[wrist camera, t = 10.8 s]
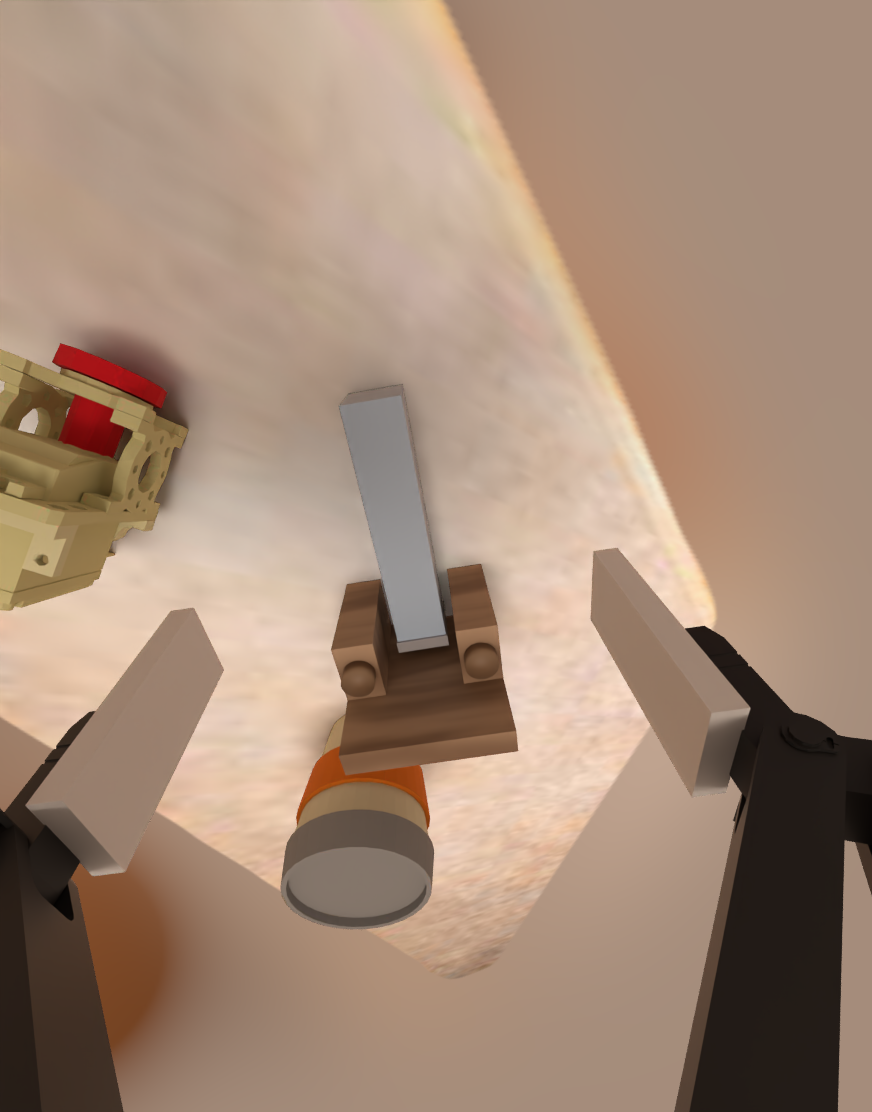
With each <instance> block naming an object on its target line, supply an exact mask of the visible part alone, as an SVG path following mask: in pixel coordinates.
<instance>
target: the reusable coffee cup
mask: <svg viewBox="0 0 872 1112" xmlns="http://www.w3.org/2000/svg"><path fill="white" fill-rule="evenodd" d="M344 720H345V715H344V716H343V717H341V718H340V719H339V720H338V721H337V722H336V723H335V724H334V726H333V728H332V730H331V733H330V735H329V738H328V741H327V744H326V747H325V749H324V752H323V755H322V757H321V758H320V759H319V760H318V761H317V763H316V764H315V766H314V768H313V770H312V773H311V776H310V778H309V781H308V784H307V787H306V789H305V792H304V795H303V797H302V800H301V803H300V806H299V808H298V812H297V817H296V820H297V828H296V831H295V832H294V833H293V834H292V835H291V837H290V839H289V841H288V842H287V846H286V851H285V858H284V865H283V873H282V881H281V894H282V897H283V899H284V901H285V903H286V904H287V905H288V907H290V909H291V910H292V911H294V912H295V913H297V914H298V915H299V916H301V917H303V918H305V919H307V920H309V921H311V922H314V923H317V924H320V925H324V926H329V927H334V928H342V929H370V928H378V927H383V926H387V925H391V924H394V923H397V922H400V921H403V920H405V919H406V918H408V917H410V916H412V915H414V914H415V913H416V912H418V911H419V910H421V909H422V907H423V906H424V905H425V904H426V903H427V902H428V900H429V897H430V895H431V890H432V877H433V861H434V848H433V844H432V841H431V840H430V838H429V836H428V831H427V830H428V827H429V823H430V815H429V809H428V803H427V796H426V790H425V784H424V778H423V773H422V769H421V767H420V765H416V766H409V767H401V768H394V769H387V770H380V771H373V772H366V773H359V774H352V775H345V772H344V769H343V767H342V764H341V761H340V759H339V750H340V744H341V738H342V732H343V726H344Z"/></svg>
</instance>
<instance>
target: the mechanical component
mask: <svg viewBox="0 0 872 1112" xmlns="http://www.w3.org/2000/svg"><path fill="white" fill-rule="evenodd" d="M52 362H53V363H54V364H56V365H57V366H59V367H61V371H60V374H59V373H56V372H54V371H52V370H49V369H47V368H45V367H42V366H40V365H38V364H35V363H33V362H31V361H29V360H26V359H24V358H21V357H19V356H16V355H14V354H11V353H9V352H6V351H4V350H1V349H0V364H1V365H0V380H2V381H4V382H5V385H4V390H3V391H2V392H1V393H0V610H7V611H9V610H13V608H14V606H16V607H20V608H21V607H25V606H28V605H31V604H34V603H37V602H41V601H44V600H47V599H50V598H54V597H57V596H60V595H63V594H66V593H70V592H73V591H76V590H79V589H83V588H86V587H89V586H91V585H92V584H93V582H94V580H96V579H99V577H100V574H101V569H102V568H103V566H104V563H105V560H106V557H110V556H114V555H115V553H111V552H109V549H110V547H111V544H112V541H116V540H118V539H120V538H122V537H124V536H125V535H126V533H127V531H128V530H129V529H131V528H132V527H133V528H136V529H139V530H142V531H149V530H152V528H153V526H154V523H155V519H156V517H157V514H158V509H159V506H160V503H157V502H154V500H155V497H156V495H157V493H158V491H159V489H160V487H161V485H162V483H163V481H164V479H165V477H166V475H167V471H168V468H169V465H170V461H171V455H172V451H173V449H174V447H177V448H180V449H181V447H182V444H183V441H184V439H185V438H186V435H187V432H188V429H186V428H185V427H183V426H180V425H178V424H175V423H173V422H171V421H168V420H166V419H164V418H161V417H159V416H157V415H156V412H155V411H153V406H154V407H157V408H162V405H163V402H164V400H165V397H166V394H167V392H166V391H165V390H164V389H163V388H161V387H160V386H158V385H156V384H154V383H152V382H151V381H149V380H147V379H145V378H143V377H141V376H139V375H137V374H135V373H132V372H130V371H128V370H126V369H124V368H122V367H120V366H117V365H115V364H113V363H111V362H108V361H106V360H104V359H102V358H99V357H97V356H94V355H92V354H89V353H87V352H84V351H82V350H79V349H77V348H74V347H70V346H67V345H64V344H61V343H60V345H59V348H58V350H57V352H56V354H55V357H54V359H53V361H52ZM3 365H4V366H3ZM5 366H6V367H5ZM10 368H11V369H10ZM30 376H31V377H30ZM35 378H36V379H35ZM37 379H38V380H37ZM39 380H41V381H39ZM42 381H43V382H42ZM44 382H45V383H48V384H50V385H52V386H54V387H57V388H59V389H60V390H58V389H54V388H53V387H52V386H50V385H47V384H45V383H44ZM61 390H62V391H61ZM63 391H64V392H63ZM68 393H69V394H68ZM69 407H70V409H69V412H68V415H67V418H66V411H67V409H68V408H69ZM34 408H36V410H37V411H38V420H39V422H38V425H37V428H36V431H35V434H31V433H27V432H23V431H19V430H18V428H19V426H20V423H21V420H22V418H23V417H24V416H25V415H27V414H28V413H29V412H30V411H31V410H32V409H34ZM124 428H127V429H130V430H132V431H133V434H132V438H131V439H130V441H129V442H128V444H127V445H126V447H125V449H124V451H123V453H122V455H121V457H120V459H119V461H118V460H115V458H114V454H115V452H116V449H117V447H118V444H119V441H120V439H121V436H122V433H123V431H124ZM183 438H184V439H183ZM149 455H150V463H149V466H148V469H147V472H146V474H145V476H144V478H143V479H142V481H141V482H140V484H139V485H138V479H139V476H140V472H141V469H142V466H143V464H144V463H145V461H146V460H147V458H148V457H149Z"/></svg>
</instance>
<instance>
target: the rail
mask: <svg viewBox="0 0 872 1112" xmlns="http://www.w3.org/2000/svg"><path fill="white" fill-rule="evenodd" d="M339 409H340V413H341V417H342V421H343V425H344V429H345V433H346V437H347V441H348V445H349V449H350V453H351V457H352V461H353V465H354V469H355V473H356V477H357V481H358V485H359V489H360V493H361V497H362V501H363V505H364V509H365V513H366V517H367V521H368V525H369V529H370V533H371V537H372V541H373V545H374V549H375V553H376V557H377V561H378V565H379V569H380V573H381V576H382V580H383V584H384V588H385V592H386V596H387V600H388V604H389V608H390V612H391V616H392V620H393V624H394V628H395V632H396V636H397V647H398V651H399V653H401V652H408V651H414V650H421V649H427V648H434V647H440V646H446V645H449V641H448V632H447V623H446V613H445V606H444V601H442V596H441V591H440V585H439V580H438V574H437V569H436V563H435V558H434V552H433V547H432V542H431V536H430V531H429V525H428V520H427V514H426V509H425V504H424V498H423V493H422V487H421V482H420V476H419V471H418V466H417V460H416V455H415V449H414V444H413V438H412V433H411V427H410V422H409V417H408V411H407V406H406V400H405V395H404V389H403V384H401V385H395V386H390V387H384V388H378V389H373V390H367V391H361V392H356V393H350V394H348V395H347V396H346V398H345V399H344V400H343V401H342V403H341V404H340V405H339Z"/></svg>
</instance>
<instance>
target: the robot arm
mask: <svg viewBox="0 0 872 1112" xmlns="http://www.w3.org/2000/svg"><path fill="white" fill-rule="evenodd" d="M591 621H592V622H593V624H594V626H595V628H596V629H597V631H598V633H599V635H600V636H601V638H602V640H603V642H604V644H605V645H606V647H607V649H608V651H609V652H610V654H611V656H612V658H613V659H614V661H615V663H616V665H617V666H618V668H619V670H620V672H621V673H622V675H623V677H624V679H625V681H626V682H627V684H628V686H629V688H630V689H631V691H632V693H633V695H634V696H635V698H636V700H637V702H638V703H639V705H640V707H641V709H642V710H643V712H644V714H645V716H646V718H647V719H648V721H649V723H650V725H651V726H652V728H653V730H654V732H655V733H656V735H657V737H658V739H659V740H660V742H661V744H662V746H663V747H664V749H665V751H666V753H667V754H668V756H669V758H670V760H671V762H672V763H673V765H674V767H675V769H676V770H677V772H678V774H679V776H680V777H681V779H682V781H683V783H684V784H685V786H686V788H687V790H688V791H689V793H690V795H691V797H698V796H706V795H714V794H721V793H726V790H727V787H728V783H729V780H730V776H731V778H732V779H733V781H734V782H735V783H736V785H737V787H738V788H739V789H740V791H741V792H742V795H741V798H740V801H739V804H738V807H737V810H736V813H735V817H734V820H733V821H735V825H734V829H733V834H732V839H731V844H730V849H729V853H728V858H727V863H726V868H725V872H724V877H723V882H722V887H721V892H720V896H719V901H718V906H717V910H716V915H715V920H714V925H713V930H712V934H711V939H710V944H709V949H708V953H707V958H706V963H705V968H704V972H703V977H702V982H701V987H700V992H699V996H698V1001H697V1006H696V1011H695V1016H694V1020H693V1025H692V1030H691V1035H690V1039H689V1044H688V1049H687V1053H686V1058H685V1063H684V1068H683V1073H682V1078H681V1082H680V1087H679V1092H678V1096H677V1101H676V1106H675V1111H674V1112H838V1078H839V1040H840V1000H841V961H842V921H843V881H844V879H843V878H844V841H845V840H847V841H852V842H855V843H856V846H857V850H858V852H859V856H860V859H861V862H862V866H863V869H864V872H865V875H866V878H867V881H868V885H869V888H870V891H871V894H872V740H866V739H858V738H850V737H845V736H840V735H837V734H836V733H835V731H833V730H832V729H831V728H829V727H828V726H826V725H825V724H823V723H822V722H820V721H818V720H816V719H814V718H811V717H809V716H807V715H802V714H798V713H794V712H793V711H792V710H790V708H789V707H788V706H787V705H786V704H785V703H784V702H783V701H782V700H781V699H780V697H779V696H778V695H777V694H776V693H775V692H774V691H773V690H772V689H771V688H770V687H769V686H768V685H767V683H765V681H764V680H763V679H762V678H761V677H760V676H759V675H758V674H757V673H756V672H755V671H754V669H753V668H752V667H749V666H748V663H747V662H746V661H745V660H744V659H743V658H742V657H741V655H738V654H737V651H736V650H735V649H734V648H733V647H732V646H731V645H730V644H729V643H728V641H727V640H726V639H725V638H724V637H722V636H720V635H719V634H717V633H716V632H714V631H712V630H711V629H709V628H707V627H705V626H700V627H693V628H685V629H684V627H683V626H682V625H681V624H680V623H679V621H678V620H677V619H676V618H675V617H674V615H673V614H672V613H671V612H670V611H669V609H668V608H667V607H666V606H665V605H664V603H663V602H662V601H661V600H660V599H659V597H658V596H657V595H656V594H655V593H654V591H653V590H652V589H651V588H650V587H649V585H648V584H647V583H646V582H645V581H644V579H643V578H642V577H641V576H640V575H639V573H638V572H637V571H636V570H635V569H634V567H633V566H632V565H631V564H630V563H629V561H628V560H627V559H626V558H625V557H624V555H623V554H622V553H621V552H620V551H619V549H618V548H613V549H606V550H599V551H594V552H593V575H592V599H591ZM223 671H224V669H223V667H222V665H221V663H220V661H219V659H218V657H217V655H216V652H215V650H214V648H213V646H212V644H211V642H210V640H209V638H208V636H207V634H206V632H205V630H204V628H203V626H202V623H201V621H200V619H199V617H198V615H197V613H196V611H195V609H194V608H188V609H181V610H174V611H171V612H170V613H169V614H168V616H167V617H166V618H165V620H164V621H163V622H162V624H161V625H160V626H159V628H158V629H157V630H156V632H155V633H154V634H153V636H152V637H151V638H150V640H149V641H148V642H147V644H146V645H145V646H144V648H143V649H142V650H141V652H140V653H139V654H138V656H137V657H136V658H135V660H134V661H133V662H132V664H131V665H130V666H129V668H128V669H127V670H126V672H125V673H124V674H123V676H122V677H121V678H120V680H119V681H118V682H117V684H116V685H115V686H114V688H113V689H112V690H111V692H110V693H109V694H108V696H107V697H106V698H105V700H104V701H103V702H102V704H101V705H100V706H99V708H98V709H97V710H96V711H92V712H89V713H87V714H86V715H85V716H84V717H83V718H82V719H80V720H79V721H78V722H77V723H76V724H74V725H73V726H72V727H71V728H70V729H69V730H68V731H67V733H66V734H65V735H64V737H63V738H62V739H61V740H60V742H59V743H58V744H57V745H56V749H53V751H52V752H51V753H50V754H49V756H48V757H47V758H46V760H45V764H42V765H41V766H40V767H39V769H38V770H37V771H36V773H35V774H34V775H33V776H32V778H31V779H30V780H29V781H28V783H27V784H26V785H25V787H24V788H23V789H22V791H21V792H20V793H19V794H18V796H17V797H16V798H15V799H14V801H13V802H12V803H11V805H10V806H9V807H8V808H7V810H6V811H5V812H3V811H2V810H1V809H0V1112H123V1107H122V1103H121V1098H120V1093H119V1088H118V1083H117V1078H116V1073H115V1069H114V1064H113V1059H112V1054H111V1049H110V1044H109V1039H108V1034H107V1029H106V1025H105V1020H104V1015H103V1010H102V1005H101V1000H100V995H99V990H98V986H97V981H96V976H95V971H94V966H93V961H92V956H91V952H90V947H89V942H88V937H87V932H86V927H85V922H84V917H83V912H82V908H81V903H80V898H79V893H78V888H77V886H76V885H75V883H74V882H73V880H71V876H72V875H73V873H74V871H75V870H76V868H77V866H78V864H79V863H81V864H82V865H83V867H84V868H85V869H86V870H87V871H88V872H89V873H90V874H91V875H92V876H98V875H106V874H114V873H120V872H125V871H126V869H127V867H128V865H129V863H130V861H131V859H132V857H133V855H134V853H135V851H136V848H137V846H138V845H139V843H140V840H141V838H142V836H143V834H144V832H145V830H146V828H147V826H148V824H149V822H150V820H151V818H152V816H153V814H154V812H155V810H156V808H157V806H158V804H159V802H160V800H161V798H162V796H163V794H164V791H165V789H166V787H167V785H168V783H169V781H170V779H171V777H172V775H173V773H174V771H175V769H176V767H177V765H178V763H179V761H180V759H181V757H182V755H183V753H184V751H185V749H186V747H187V745H188V742H189V740H190V738H191V736H192V734H193V732H194V730H195V728H196V726H197V724H198V722H199V720H200V718H201V716H202V714H203V712H204V710H205V708H206V706H207V704H208V702H209V700H210V698H211V696H212V693H213V691H214V689H215V687H216V685H217V683H218V681H219V679H220V677H221V675H222V673H223Z"/></svg>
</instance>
